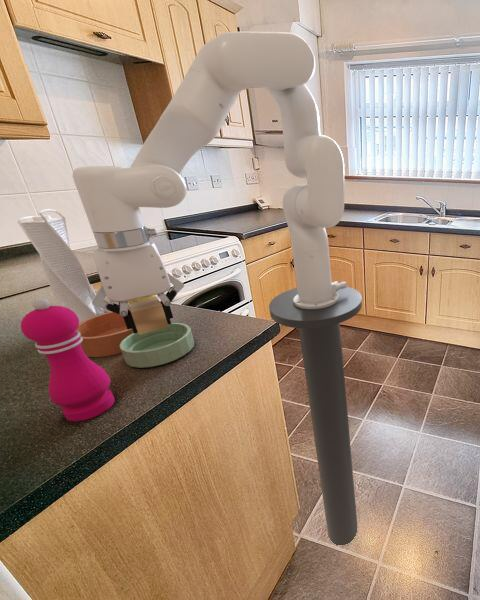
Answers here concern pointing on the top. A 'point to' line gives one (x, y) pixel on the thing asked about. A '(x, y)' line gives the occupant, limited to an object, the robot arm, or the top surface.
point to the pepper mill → (67, 362)
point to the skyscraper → (61, 264)
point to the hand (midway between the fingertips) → (151, 325)
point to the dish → (157, 346)
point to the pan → (103, 334)
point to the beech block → (148, 315)
